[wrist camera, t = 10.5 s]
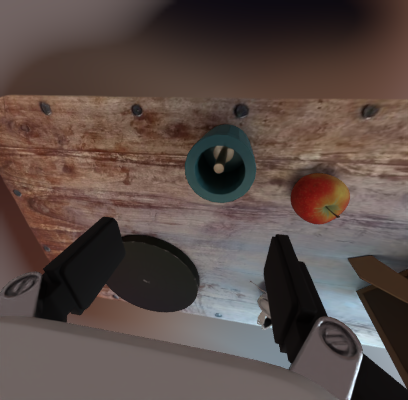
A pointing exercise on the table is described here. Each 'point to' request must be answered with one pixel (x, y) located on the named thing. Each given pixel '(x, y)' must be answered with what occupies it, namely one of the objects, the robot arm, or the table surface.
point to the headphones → (264, 311)
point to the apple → (319, 198)
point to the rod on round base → (222, 157)
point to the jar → (233, 171)
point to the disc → (155, 275)
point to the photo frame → (386, 307)
